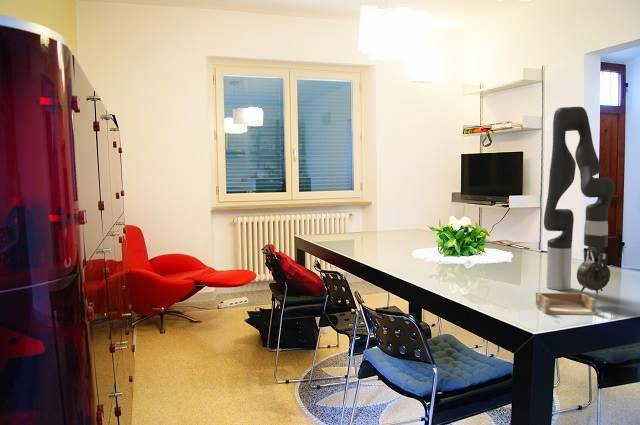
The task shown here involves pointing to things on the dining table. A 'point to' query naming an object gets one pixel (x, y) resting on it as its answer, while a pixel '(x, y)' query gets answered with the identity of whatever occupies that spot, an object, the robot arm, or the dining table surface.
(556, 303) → the clock stand
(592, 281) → the alarm clock
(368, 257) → the dining table surface
